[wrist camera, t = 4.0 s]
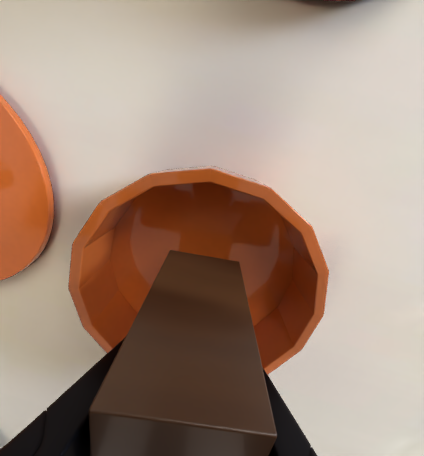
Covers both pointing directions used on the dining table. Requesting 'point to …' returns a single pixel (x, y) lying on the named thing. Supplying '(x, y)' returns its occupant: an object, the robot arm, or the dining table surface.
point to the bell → (339, 0)
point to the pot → (202, 245)
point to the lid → (22, 196)
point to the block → (187, 370)
